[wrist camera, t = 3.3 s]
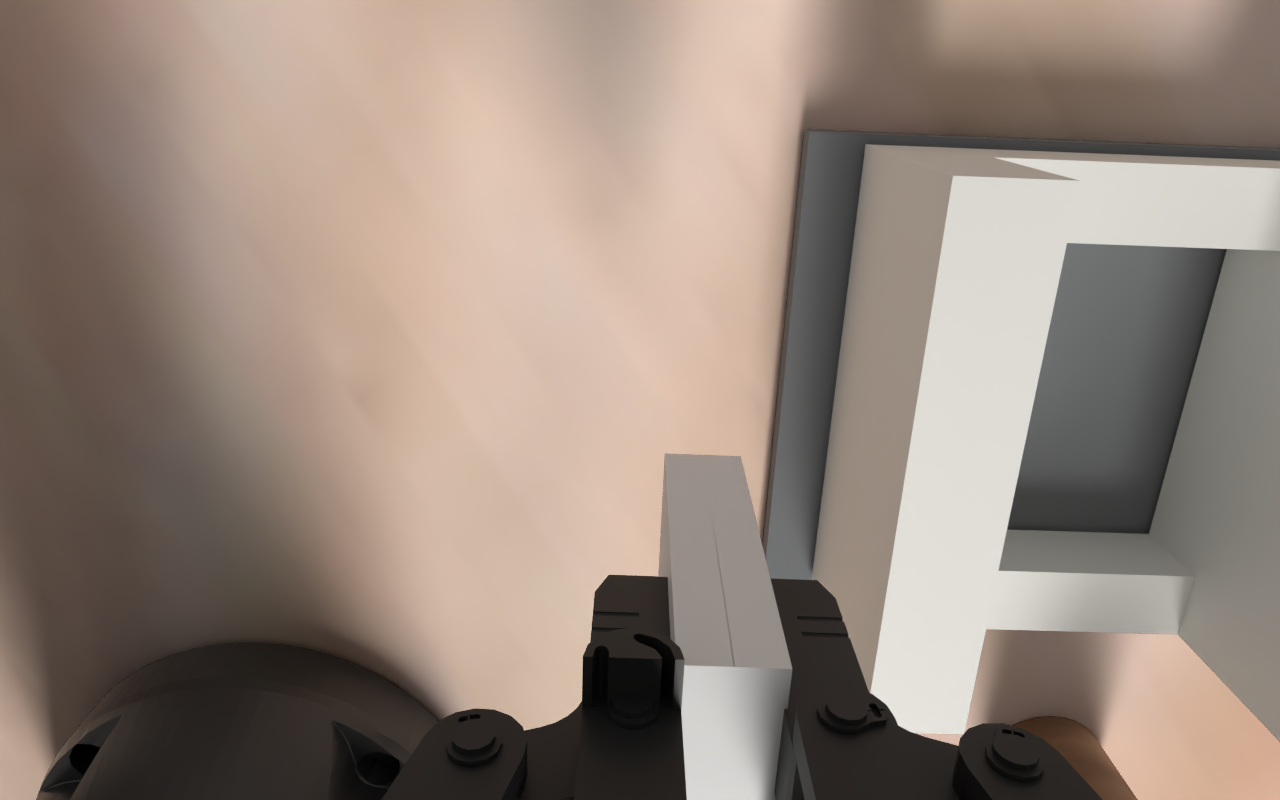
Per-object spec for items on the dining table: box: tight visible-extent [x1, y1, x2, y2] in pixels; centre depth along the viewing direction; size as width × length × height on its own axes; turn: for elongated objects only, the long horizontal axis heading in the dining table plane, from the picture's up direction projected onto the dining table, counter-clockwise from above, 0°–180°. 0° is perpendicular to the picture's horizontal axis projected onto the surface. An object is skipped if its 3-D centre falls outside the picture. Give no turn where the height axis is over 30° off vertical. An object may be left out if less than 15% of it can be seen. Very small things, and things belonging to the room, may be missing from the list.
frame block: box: [812, 144, 1280, 742], centre depth 23 cm, size 13×14×7 cm
